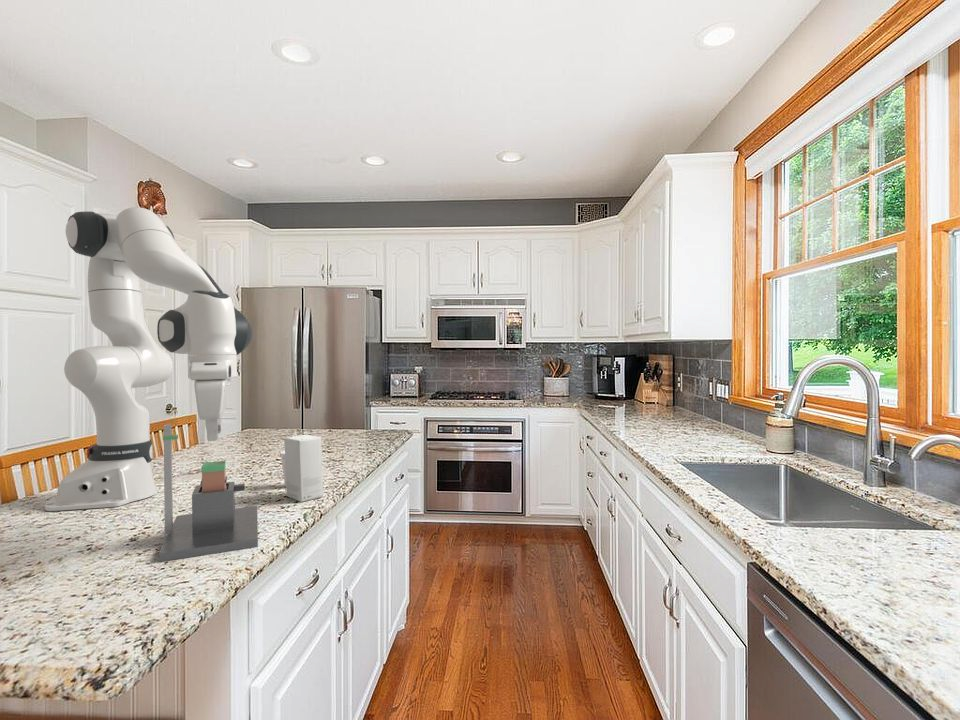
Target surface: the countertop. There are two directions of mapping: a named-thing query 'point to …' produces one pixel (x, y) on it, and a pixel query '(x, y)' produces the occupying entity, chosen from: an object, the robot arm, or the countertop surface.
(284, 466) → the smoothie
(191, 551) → the stand
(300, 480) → the skincare box
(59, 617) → the countertop surface
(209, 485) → the column
